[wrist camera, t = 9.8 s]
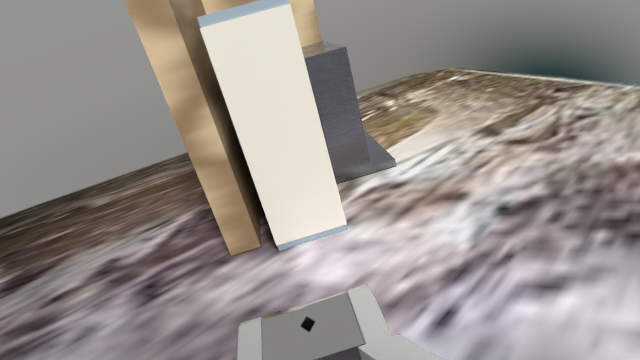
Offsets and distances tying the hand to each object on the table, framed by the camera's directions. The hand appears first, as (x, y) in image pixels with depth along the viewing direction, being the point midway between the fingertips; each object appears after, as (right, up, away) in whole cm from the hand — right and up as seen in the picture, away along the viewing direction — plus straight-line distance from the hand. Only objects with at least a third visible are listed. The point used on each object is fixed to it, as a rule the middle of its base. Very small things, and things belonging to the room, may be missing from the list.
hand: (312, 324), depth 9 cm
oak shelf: (-2, +3, +25) cm, 25 cm away
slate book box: (-1, +2, +23) cm, 23 cm away
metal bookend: (+2, +5, +27) cm, 27 cm away
